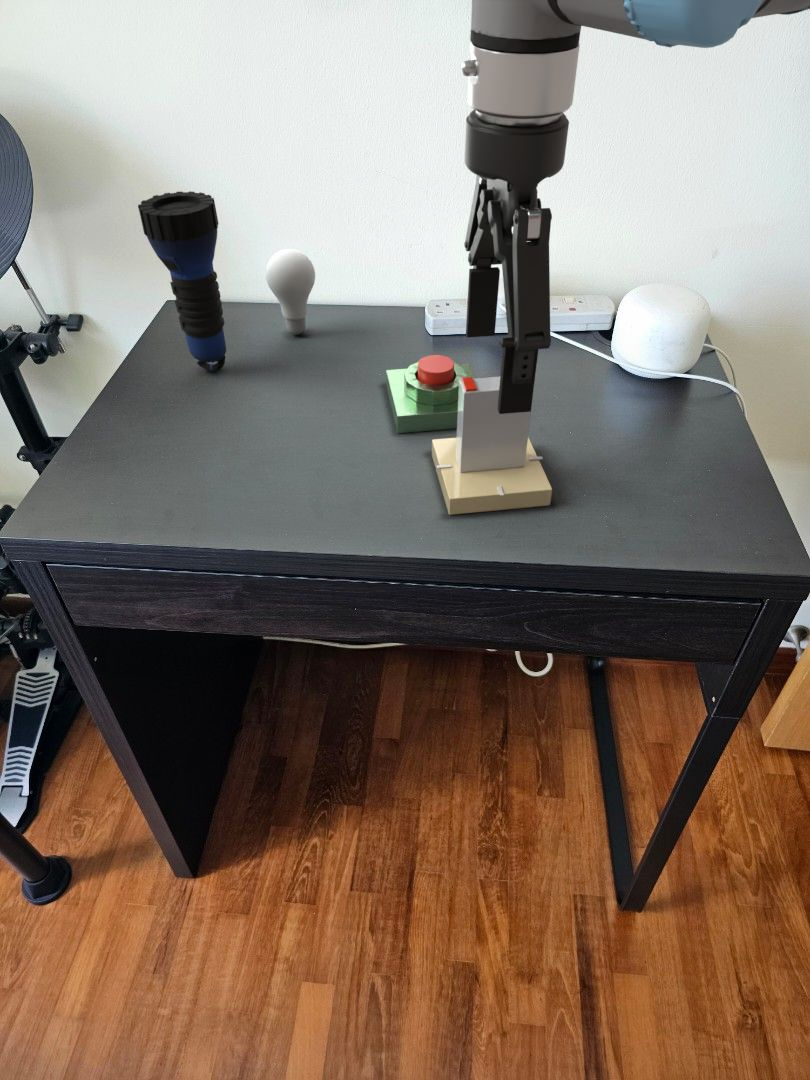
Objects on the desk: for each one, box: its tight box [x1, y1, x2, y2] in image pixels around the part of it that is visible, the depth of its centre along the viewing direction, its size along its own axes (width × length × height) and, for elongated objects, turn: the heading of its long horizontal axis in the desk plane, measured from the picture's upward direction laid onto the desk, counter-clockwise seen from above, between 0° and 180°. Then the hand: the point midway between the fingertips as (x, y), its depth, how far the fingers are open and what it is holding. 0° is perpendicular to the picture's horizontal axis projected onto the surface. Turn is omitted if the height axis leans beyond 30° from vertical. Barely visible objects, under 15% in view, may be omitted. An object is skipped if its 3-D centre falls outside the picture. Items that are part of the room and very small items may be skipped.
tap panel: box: [431, 436, 553, 516], centre depth 79 cm, size 11×11×2 cm
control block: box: [385, 361, 477, 434], centre depth 89 cm, size 10×10×4 cm
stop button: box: [417, 354, 454, 386], centre depth 87 cm, size 4×4×2 cm
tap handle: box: [456, 376, 534, 472], centre depth 75 cm, size 6×2×9 cm, turn 98°
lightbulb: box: [265, 248, 316, 336], centre depth 100 cm, size 6×6×11 cm
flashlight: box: [137, 190, 227, 372], centre depth 90 cm, size 8×8×20 cm
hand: (495, 370), depth 72 cm, fingers open, 13 cm apart
